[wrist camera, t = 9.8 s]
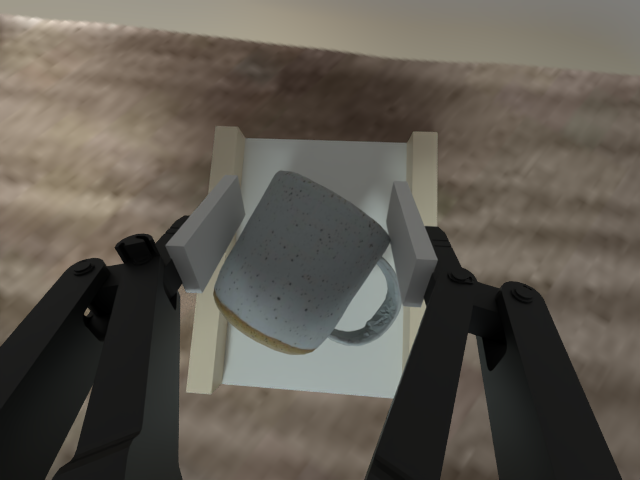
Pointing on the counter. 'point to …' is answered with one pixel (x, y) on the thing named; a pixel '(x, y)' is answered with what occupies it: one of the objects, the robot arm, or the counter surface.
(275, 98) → the counter surface
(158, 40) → the counter surface
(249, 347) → the rail tray
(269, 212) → the ceramic mug
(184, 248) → the robot arm
